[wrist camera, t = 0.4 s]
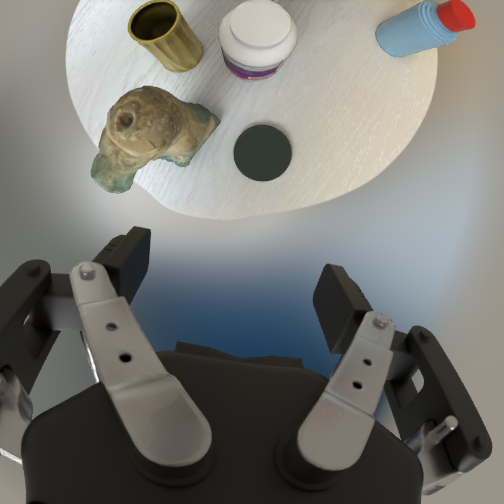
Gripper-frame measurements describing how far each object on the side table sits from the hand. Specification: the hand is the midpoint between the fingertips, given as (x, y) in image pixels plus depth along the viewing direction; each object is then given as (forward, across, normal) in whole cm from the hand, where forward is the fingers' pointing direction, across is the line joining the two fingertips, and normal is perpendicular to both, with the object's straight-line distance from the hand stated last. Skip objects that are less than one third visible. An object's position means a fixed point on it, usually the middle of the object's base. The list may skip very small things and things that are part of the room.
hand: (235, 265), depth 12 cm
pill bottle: (+29, +2, -16) cm, 33 cm away
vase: (+29, +12, -15) cm, 35 cm away
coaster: (+29, -3, -2) cm, 29 cm away
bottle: (+29, -18, -28) cm, 44 cm away
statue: (+29, +8, -3) cm, 30 cm away
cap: (+14, -18, -28) cm, 36 cm away
